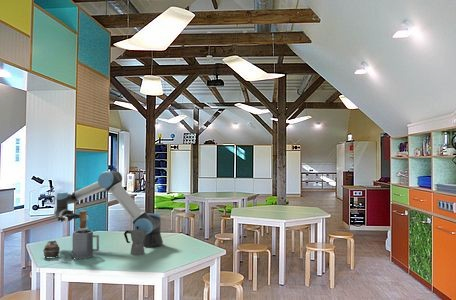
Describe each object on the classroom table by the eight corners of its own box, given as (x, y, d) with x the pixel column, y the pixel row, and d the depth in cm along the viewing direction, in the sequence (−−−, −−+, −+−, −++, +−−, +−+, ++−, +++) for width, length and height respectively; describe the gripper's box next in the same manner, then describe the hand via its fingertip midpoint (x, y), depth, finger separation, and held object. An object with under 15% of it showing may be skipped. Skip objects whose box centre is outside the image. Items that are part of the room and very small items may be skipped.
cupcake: (41, 256, 250) (41, 241, 251) (57, 254, 256) (57, 239, 256) (45, 259, 243) (45, 243, 243) (61, 257, 249) (61, 241, 249)
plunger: (92, 246, 252) (92, 210, 252) (82, 249, 244) (82, 211, 245) (83, 245, 255) (83, 209, 256) (73, 247, 248) (73, 211, 249)
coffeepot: (147, 251, 264) (147, 224, 264) (148, 254, 255) (148, 227, 255) (123, 252, 259) (123, 226, 260) (124, 256, 250) (124, 228, 251)
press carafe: (100, 255, 252) (100, 231, 252) (85, 260, 240) (85, 234, 240) (83, 253, 258) (83, 229, 259) (67, 257, 247) (67, 232, 247)
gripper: (84, 218, 282) (95, 222, 266) (47, 222, 265) (58, 226, 249) (84, 208, 282) (96, 211, 266) (48, 211, 265) (58, 214, 249)
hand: (77, 218), depth 257 cm, fingers open, 13 cm apart
